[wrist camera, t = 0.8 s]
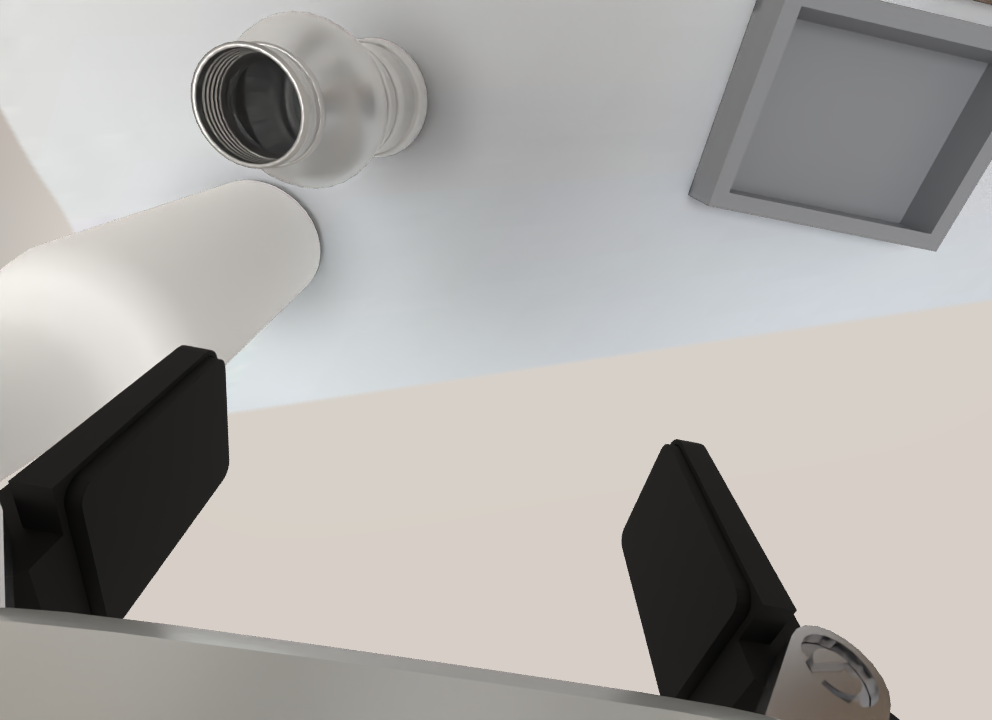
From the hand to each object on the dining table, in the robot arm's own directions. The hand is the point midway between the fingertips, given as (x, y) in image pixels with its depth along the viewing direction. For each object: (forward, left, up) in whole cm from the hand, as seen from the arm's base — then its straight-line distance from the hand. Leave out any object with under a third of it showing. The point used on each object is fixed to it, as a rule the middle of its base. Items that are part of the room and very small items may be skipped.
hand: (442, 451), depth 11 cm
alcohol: (+6, -16, -29) cm, 34 cm away
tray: (-9, +22, -29) cm, 38 cm away
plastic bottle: (-5, -8, -29) cm, 31 cm away
